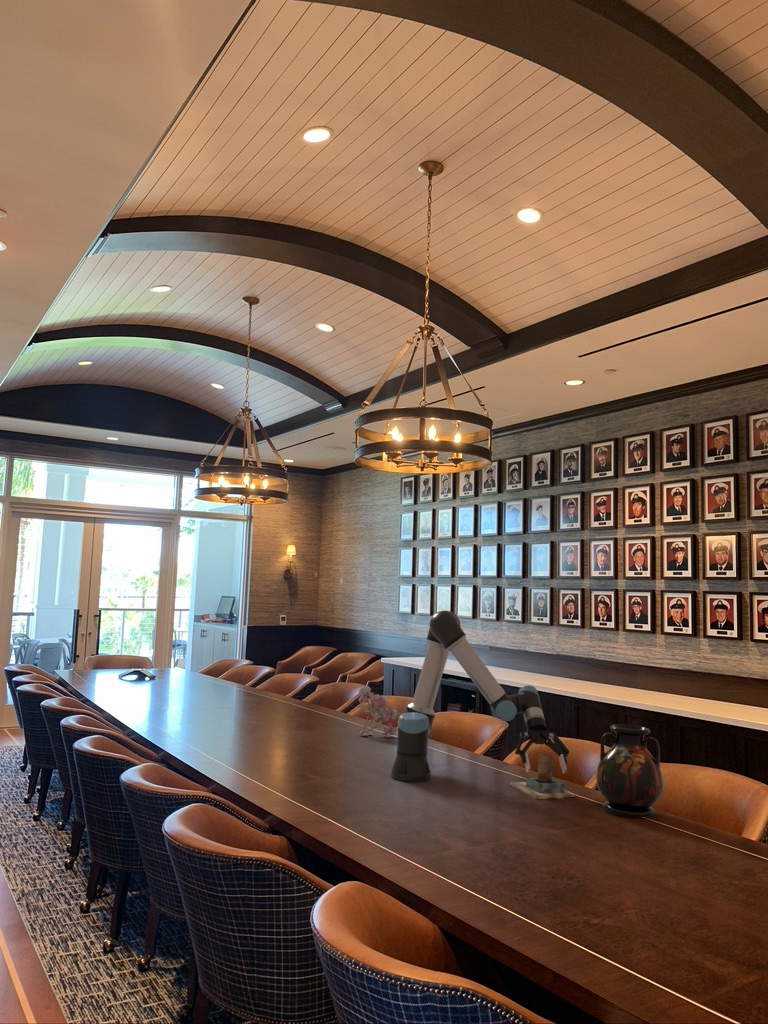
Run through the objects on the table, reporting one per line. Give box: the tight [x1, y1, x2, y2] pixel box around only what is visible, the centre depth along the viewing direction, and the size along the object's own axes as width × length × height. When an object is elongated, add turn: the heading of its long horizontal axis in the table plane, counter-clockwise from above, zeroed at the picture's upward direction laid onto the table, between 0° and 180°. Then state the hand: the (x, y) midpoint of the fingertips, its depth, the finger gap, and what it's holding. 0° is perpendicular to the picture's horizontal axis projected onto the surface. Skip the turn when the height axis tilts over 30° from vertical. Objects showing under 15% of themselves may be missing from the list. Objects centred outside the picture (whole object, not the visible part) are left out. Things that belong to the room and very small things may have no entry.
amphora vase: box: [595, 723, 664, 819], centre depth 261 cm, size 22×22×28 cm
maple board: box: [509, 777, 577, 800], centre depth 284 cm, size 16×20×4 cm
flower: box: [356, 685, 399, 737], centre depth 384 cm, size 20×22×25 cm
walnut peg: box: [537, 753, 554, 783], centre depth 282 cm, size 5×5×12 cm
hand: (546, 771), depth 281 cm, fingers open, 13 cm apart
